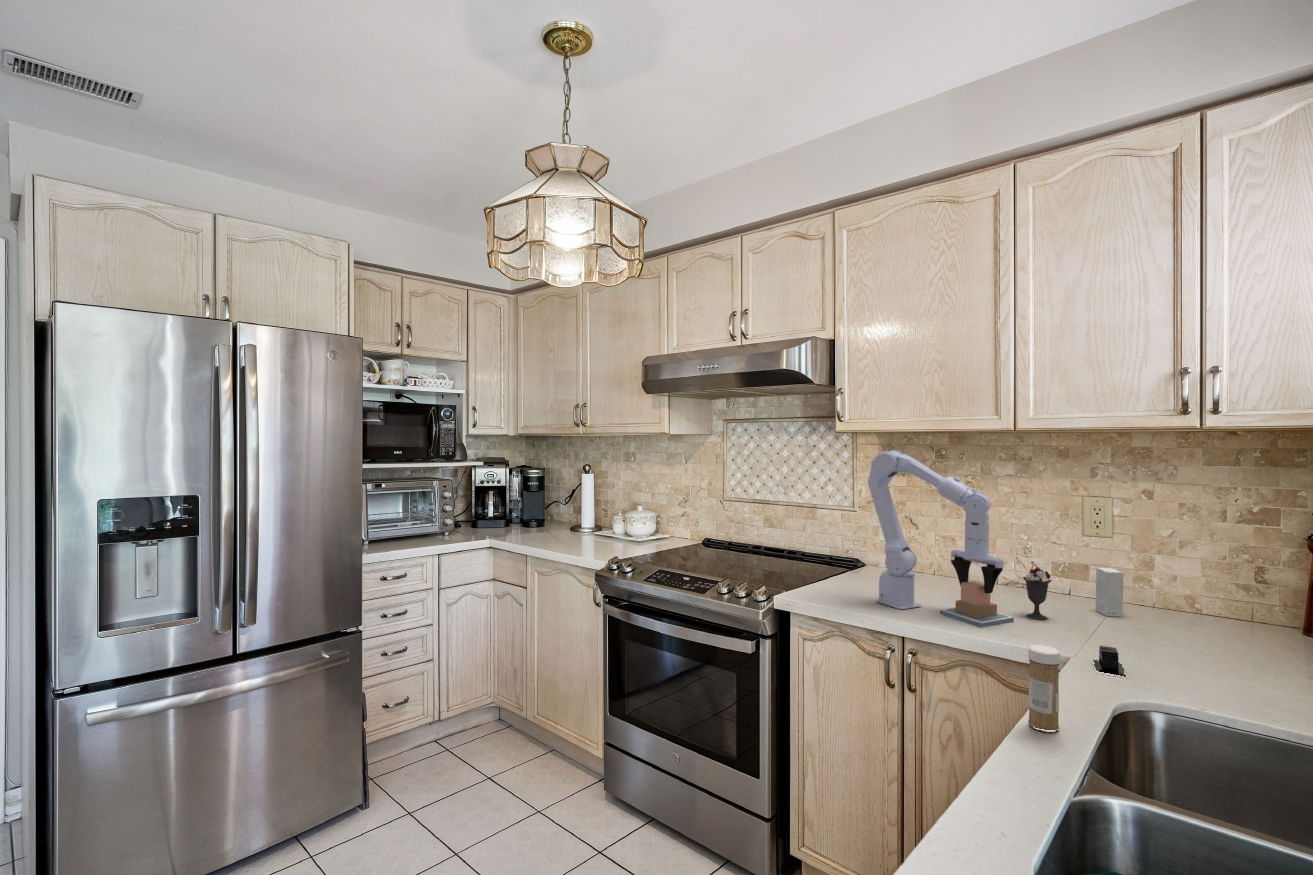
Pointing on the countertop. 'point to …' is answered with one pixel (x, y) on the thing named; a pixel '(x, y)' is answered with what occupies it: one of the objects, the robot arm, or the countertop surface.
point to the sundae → (1037, 589)
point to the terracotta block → (974, 593)
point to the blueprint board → (977, 614)
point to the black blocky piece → (1109, 661)
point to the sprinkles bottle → (1043, 687)
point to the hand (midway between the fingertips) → (975, 589)
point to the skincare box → (1109, 592)
